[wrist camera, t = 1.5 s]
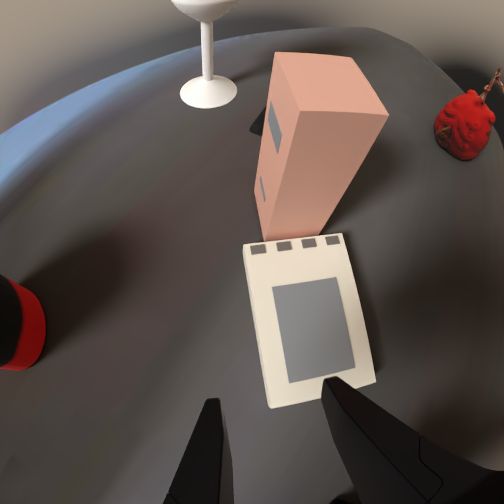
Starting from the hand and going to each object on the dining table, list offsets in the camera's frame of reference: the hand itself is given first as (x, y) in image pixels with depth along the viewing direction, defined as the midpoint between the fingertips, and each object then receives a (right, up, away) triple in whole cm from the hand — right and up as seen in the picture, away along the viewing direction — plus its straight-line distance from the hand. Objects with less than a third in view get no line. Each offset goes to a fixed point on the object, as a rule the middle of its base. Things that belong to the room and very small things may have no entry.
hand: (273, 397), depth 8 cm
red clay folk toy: (+26, +19, +24) cm, 40 cm away
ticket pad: (+4, -1, +15) cm, 15 cm away
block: (+2, +7, +18) cm, 19 cm away
